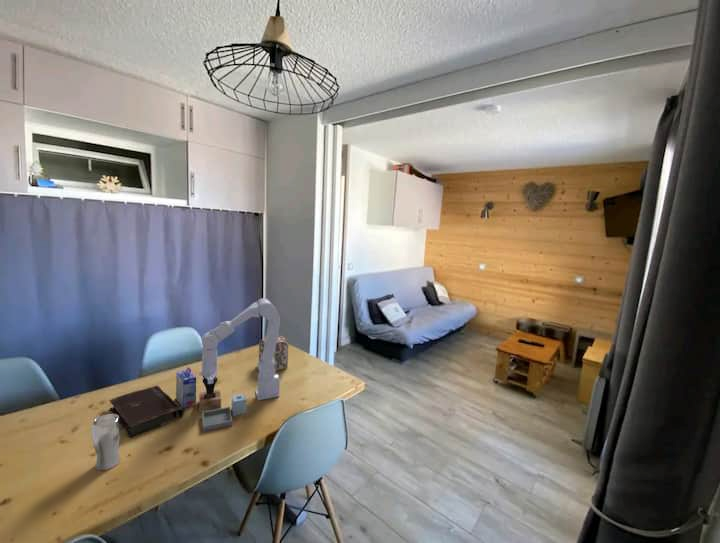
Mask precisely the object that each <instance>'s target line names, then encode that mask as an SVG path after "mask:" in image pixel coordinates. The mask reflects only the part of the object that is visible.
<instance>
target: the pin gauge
mask: <svg viewBox="0 0 720 543" xmlns="http://www.w3.org/2000/svg"><path fill="white" fill-rule="evenodd" d="M205 392H206V391H205ZM209 398H214V392H213V394H209V395H207V392H206V399H209Z"/></svg>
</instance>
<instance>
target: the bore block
mask: <svg viewBox="0 0 720 543" xmlns="http://www.w3.org/2000/svg"><path fill="white" fill-rule="evenodd" d="M198 395H199V397H198V398H199V400H198V401H199V412H201V413H202V412H205V411H210V410H215V409H221V408H222V396H221V390H220V389H214V398H209V399H206V391H203V392H201V391H200V392H199V394H198Z"/></svg>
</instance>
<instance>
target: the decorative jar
mask: <svg viewBox="0 0 720 543" xmlns="http://www.w3.org/2000/svg"><path fill="white" fill-rule="evenodd" d="M265 339H266V336H264V337H263V338H262V339H261V340H260V341H259V342H258V362H259V361H260V359H261V356H262V355H263V351H264V345H265ZM274 362H275V365H274V368H275V372H276V371H280V370H284V369H288V363H289V343H288V341H287V340H286V338H285V337H284V336H282V335H278V338H277V344H276V349H275V355H274Z"/></svg>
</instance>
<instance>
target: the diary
mask: <svg viewBox="0 0 720 543" xmlns="http://www.w3.org/2000/svg"><path fill="white" fill-rule="evenodd" d="M109 402H110V404H112V407H109V410H110V412H111V414H117V415H118V416H119V421H120V427H121V428H124V429H125V431H126V435H127V436H128V437H129V439H130V440H131V439H133V438H136V437H138V436H140V435H143V434H145V433H147V432H150V431H152V430H153V431H154V430H156V429H158V428H160V427H162V425H165V424H166V423H168V422H171V421H173V420H177V419H178V418H179V417H180V418H181V419H182V418H183V417H184V410H183V408H182V407H181V406H179V405H178V404H177V403H176V402H175V401H174V400H173V399H172V398H171V397H170V396H169V395H168V394H167V393H166V392H165V391H163V390H162V388H161V387H160V386H159V385H154V386H151V387H147V388H144V389H143V388H142V389H139V390H136V391H133V392H129V393H126V394H123V395H119V396H116V397H113V398H112V399H110V400H109Z"/></svg>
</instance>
